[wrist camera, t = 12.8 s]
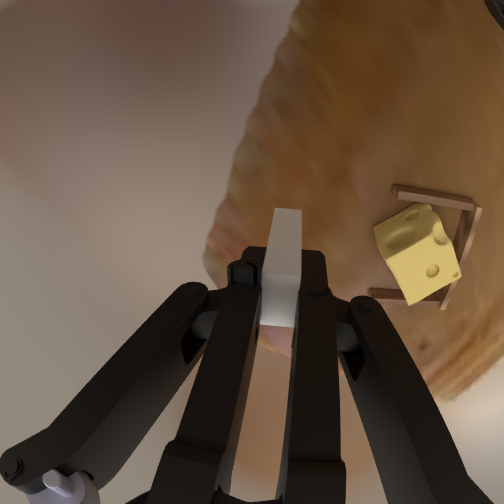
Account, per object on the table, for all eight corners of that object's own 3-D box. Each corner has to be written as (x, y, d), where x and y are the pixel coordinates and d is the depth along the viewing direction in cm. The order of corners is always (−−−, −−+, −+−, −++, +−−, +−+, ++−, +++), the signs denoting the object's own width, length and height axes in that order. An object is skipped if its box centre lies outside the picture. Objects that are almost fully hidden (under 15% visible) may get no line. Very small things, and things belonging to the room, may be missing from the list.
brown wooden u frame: (392, 184, 40) (400, 193, 36) (471, 198, 38) (482, 208, 34) (367, 293, 50) (371, 307, 47) (438, 296, 48) (444, 309, 45)
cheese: (422, 195, 40) (448, 222, 31) (441, 246, 43) (465, 280, 35) (368, 226, 44) (382, 259, 35) (392, 273, 48) (407, 311, 39)
